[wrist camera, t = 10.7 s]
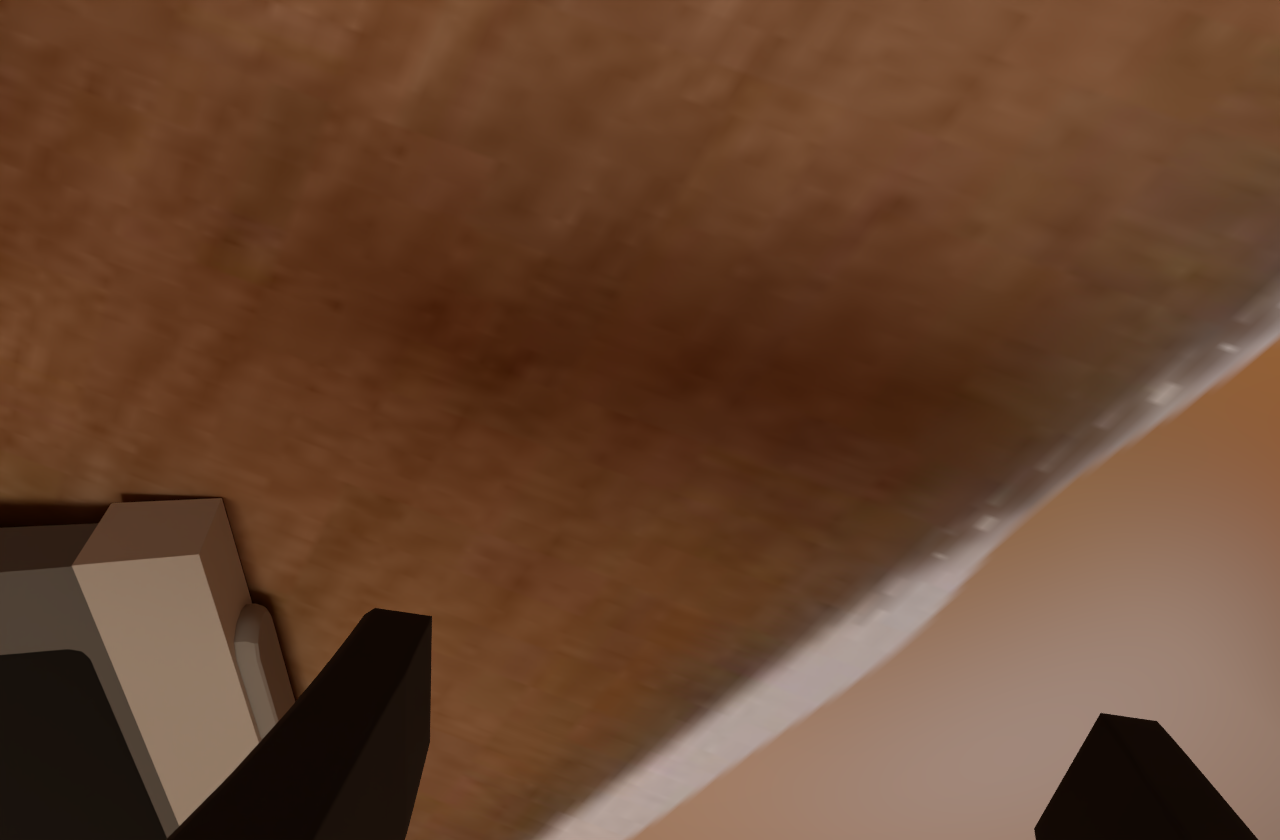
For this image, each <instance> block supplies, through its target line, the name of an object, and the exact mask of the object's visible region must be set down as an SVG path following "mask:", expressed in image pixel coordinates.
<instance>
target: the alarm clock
mask: <svg viewBox="0 0 1280 840" xmlns="http://www.w3.org/2000/svg"><path fill="white" fill-rule="evenodd" d="M294 703H295V699H294V695H293V692H292V688H291V685H290V681H289V677H288V674H287V670H286V667H285V663H284V659H283V656H282V652H281V649H280V645H279V641H278V638H277V634H276V631H275V627H274V623H273V620H272V616H271V615H270V613H269V611H268V610H267V609H266V607H264V606H262V605H259V604H252V601H251V597H250V594H249V590H248V587H247V583H246V580H245V576H244V573H243V570H242V566H241V563H240V559H239V556H238V552H237V549H236V545H235V542H234V538H233V535H232V532H231V528H230V525H229V521H228V518H227V514H226V511H225V507H224V504H223V500H222V498H212V499H190V500H168V501H147V502H125V503H111V505H110V506H109V508H108V510H107V511H106V513H105V514H104V516H103V517H102V519H101V521H100V522H99V523H95V524H73V525H51V526H29V527H7V528H0V840H166V839H167V838H168V837H169V836H170V835H171V834H172V833H173V832H174V831H175V830H176V829H177V828H178V827H179V826H180V825H181V824H182V823H183V822H184V821H185V820H186V819H187V818H188V817H189V816H190V815H191V814H192V813H193V812H194V811H195V810H196V809H197V808H198V807H199V806H200V805H201V804H202V803H203V802H204V801H205V800H206V799H207V798H208V797H209V796H210V795H211V794H212V793H213V792H214V791H215V790H216V789H217V788H218V787H219V786H220V785H221V784H222V783H223V782H224V781H225V779H226V778H227V777H228V776H229V775H230V774H231V773H232V772H233V771H234V770H235V769H236V768H237V767H238V766H239V765H240V763H241V762H242V761H243V760H244V759H245V758H246V757H247V756H248V755H249V753H250V752H251V751H252V750H253V749H254V748H255V747H256V746H257V745H258V743H259V742H260V741H261V740H262V739H263V738H264V737H265V736H266V735H267V733H268V732H269V731H270V730H271V729H272V728H273V727H274V726H275V725H276V723H277V722H278V721H279V720H280V719H281V718H282V717H283V716H284V715H285V713H286V712H287V711H288V710H289V709H290V708H291V707H292V705H293V704H294Z"/></svg>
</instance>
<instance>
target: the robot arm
mask: <svg viewBox="0 0 1280 840" xmlns="http://www.w3.org/2000/svg"><path fill="white" fill-rule="evenodd" d="M431 636H432V616H426V615H419V614H412V613H406V612H399V611H392V610H385V609H378V608H375V609H373V610H371V611H370V612H368V613H366V614H365V615H364V616H363V617H362V619H361V620H360V622H359V623H358V624H357V626H356V627H355V628H354V630H353V631H352V632H351V634H350V635H349V636H348V638H347V639H346V640H345V642H344V643H343V644H342V645H341V647H340V648H339V649H338V651H337V652H336V653H335V655H334V656H333V657H332V658H331V660H330V661H329V662H328V663H327V665H326V666H325V667H324V668H323V669H322V671H321V672H320V673H319V674H318V676H317V677H316V678H315V679H314V680H313V682H312V683H311V684H310V685H309V686H308V688H307V689H306V690H305V691H304V692H303V694H302V695H301V696H300V697H299V698H298V699H297V701H296V702H295V703H294V704H293V705H292V707H291V708H290V709H289V710H288V711H287V712H286V713H285V715H284V716H283V717H282V718H281V719H280V720H279V721H278V722H277V723H276V725H275V726H274V727H273V728H272V729H271V730H270V731H269V732H268V733H267V735H266V736H265V737H264V738H263V739H262V740H261V741H260V742H259V743H258V745H257V746H256V747H255V748H254V749H253V750H252V751H251V752H250V753H249V755H248V756H247V757H246V758H245V759H244V760H243V761H242V762H241V763H240V765H239V766H238V767H237V768H236V769H235V770H234V771H233V772H232V773H231V774H230V775H229V776H228V777H227V778H226V779H225V781H224V782H223V783H222V784H221V785H220V786H219V787H218V788H217V789H216V790H215V791H214V792H213V793H212V794H211V795H210V796H209V797H208V798H207V799H206V800H205V801H204V802H203V803H202V804H201V805H200V806H199V807H198V808H197V809H196V810H195V811H194V812H193V813H192V814H191V815H190V816H189V817H188V818H187V819H186V820H185V821H184V822H183V823H182V824H181V825H180V826H179V827H178V828H177V829H176V830H175V831H174V832H173V833H172V834H171V835H170V836H169V837H168V838H167V839H166V840H405V837H406V834H407V830H408V826H409V822H410V819H411V815H412V811H413V807H414V803H415V799H416V795H417V792H418V787H419V783H420V779H421V775H422V771H423V767H424V763H425V759H426V755H427V751H428V747H429V743H430V699H431ZM1034 830H1035V836H1036V840H1258V839H1257V838H1256V837H1255V835H1254V834H1253V833H1252V832H1251V831H1250V829H1249V828H1248V827H1247V826H1246V825H1245V823H1244V822H1243V821H1242V820H1241V819H1240V818H1239V816H1238V815H1237V814H1236V813H1235V812H1234V810H1233V809H1232V808H1231V807H1230V806H1229V804H1228V803H1227V802H1226V801H1225V800H1224V799H1223V797H1222V796H1221V795H1220V794H1219V793H1218V791H1217V790H1216V789H1215V788H1214V787H1213V785H1212V784H1211V783H1210V782H1209V781H1208V779H1207V778H1206V777H1205V776H1204V775H1203V774H1202V772H1201V771H1200V770H1199V769H1198V768H1197V766H1195V764H1194V763H1193V762H1192V761H1191V759H1190V758H1189V757H1188V756H1187V755H1186V754H1185V752H1184V751H1183V750H1182V749H1181V748H1180V747H1179V745H1178V744H1177V743H1176V742H1175V741H1174V740H1173V739H1172V738H1171V736H1170V735H1169V734H1168V733H1167V732H1166V731H1165V730H1164V728H1163V727H1162V726H1161V725H1160V724H1159V723H1158V722H1157V721H1152V720H1145V719H1138V718H1130V717H1124V716H1117V715H1111V714H1103V713H1100V715H1099V717H1098V719H1097V721H1096V722H1095V724H1094V726H1093V727H1092V729H1091V731H1090V733H1089V734H1088V736H1087V738H1086V740H1085V741H1084V743H1083V745H1082V747H1081V748H1080V750H1079V752H1078V753H1077V755H1076V757H1075V759H1074V760H1073V762H1072V764H1071V766H1070V767H1069V769H1068V771H1067V773H1066V775H1065V776H1064V778H1063V779H1062V782H1061V783H1060V785H1059V787H1058V788H1057V790H1056V792H1055V794H1054V795H1053V797H1052V799H1051V800H1050V802H1049V804H1048V806H1047V807H1046V809H1045V811H1044V813H1043V814H1042V816H1041V818H1040V820H1039V821H1038V823H1037V825H1036V827H1035V828H1034Z"/></svg>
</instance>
